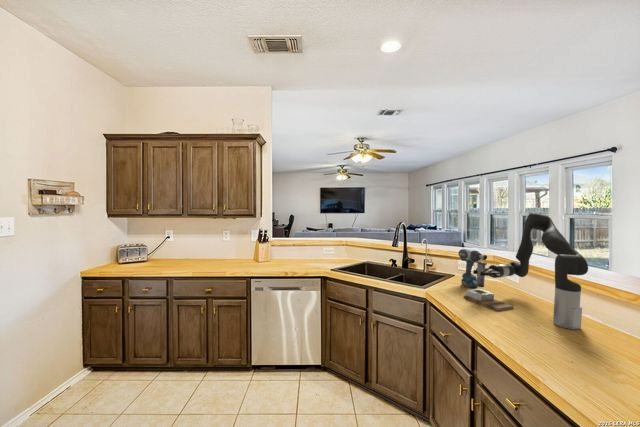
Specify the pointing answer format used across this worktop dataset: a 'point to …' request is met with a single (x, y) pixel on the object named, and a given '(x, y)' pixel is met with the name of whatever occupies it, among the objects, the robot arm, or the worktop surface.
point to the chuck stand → (486, 299)
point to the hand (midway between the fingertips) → (477, 273)
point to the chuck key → (479, 269)
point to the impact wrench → (470, 265)
